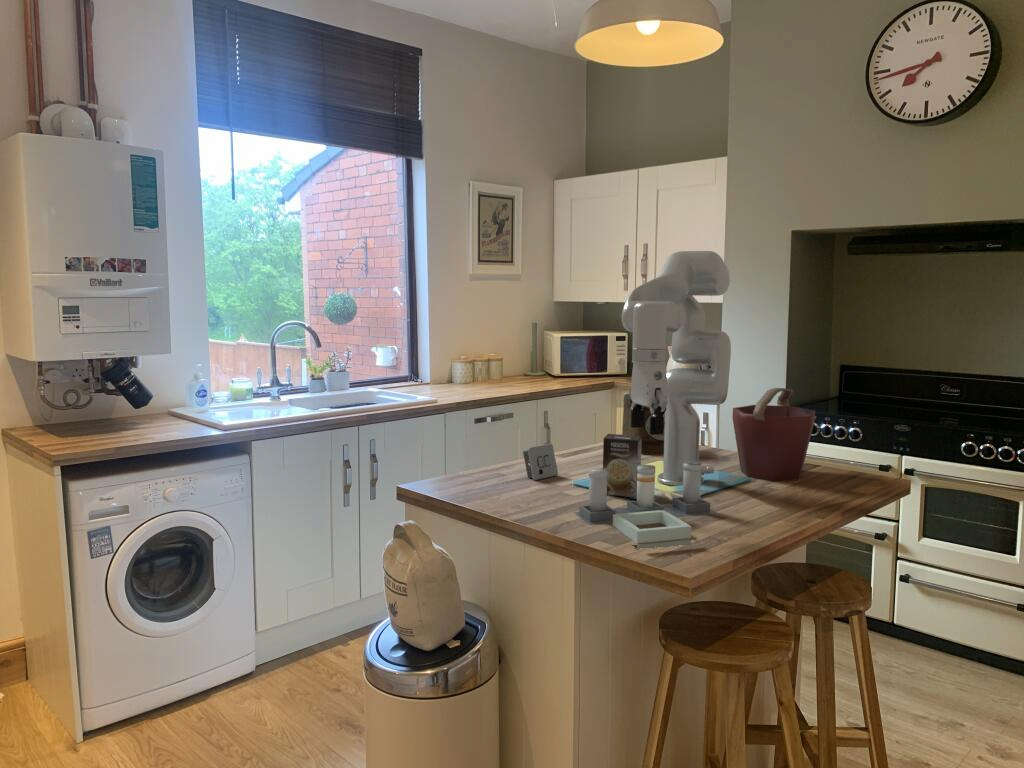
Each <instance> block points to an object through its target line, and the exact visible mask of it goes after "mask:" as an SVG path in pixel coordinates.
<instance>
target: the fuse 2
mask: <svg viewBox="0 0 1024 768" xmlns="http://www.w3.org/2000/svg"><path fill="white" fill-rule="evenodd" d="M702 466H703V465H702V462H700V461H699V462H694V461H688V462H684V463H683V469H684V475H683V485H682V497H683V502H684V503H686V504H695V503H700V498H701V485H702V484H701V469H702Z"/></svg>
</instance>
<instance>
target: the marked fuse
mask: <svg viewBox="0 0 1024 768" xmlns="http://www.w3.org/2000/svg"><path fill="white" fill-rule="evenodd" d="M655 482H656V466H655V465H652V464H641V465H638V466H637V496H636V501H637V507H639V508H649V507H654V501H655V484H656V483H655Z"/></svg>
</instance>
